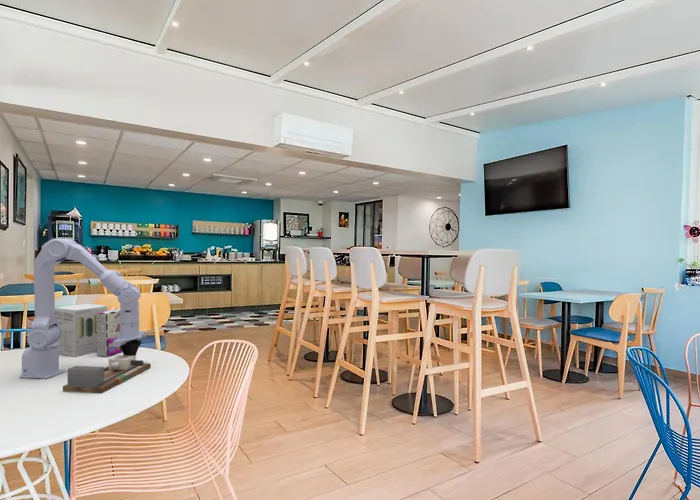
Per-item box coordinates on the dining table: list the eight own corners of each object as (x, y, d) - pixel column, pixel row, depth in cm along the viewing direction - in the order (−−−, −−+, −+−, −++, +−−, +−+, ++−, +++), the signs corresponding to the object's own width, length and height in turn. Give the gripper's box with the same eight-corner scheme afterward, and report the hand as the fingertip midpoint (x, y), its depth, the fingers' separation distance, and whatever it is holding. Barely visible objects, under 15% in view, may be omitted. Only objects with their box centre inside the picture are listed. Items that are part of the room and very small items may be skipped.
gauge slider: (104, 371, 135) (104, 361, 134) (118, 364, 141) (118, 355, 141) (134, 372, 133) (134, 362, 133) (147, 365, 140) (147, 356, 140)
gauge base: (62, 391, 122) (62, 383, 122) (117, 366, 145) (117, 360, 145) (102, 393, 120) (102, 385, 120) (151, 367, 144) (151, 361, 144)
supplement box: (74, 357, 156) (73, 310, 156) (52, 353, 162) (52, 307, 162) (108, 349, 168) (107, 305, 168) (87, 345, 174) (86, 302, 174)
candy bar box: (117, 349, 169) (117, 307, 168) (129, 349, 168) (128, 308, 167) (95, 356, 158) (95, 312, 157) (107, 357, 157) (107, 313, 156)
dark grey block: (67, 386, 121) (67, 368, 121) (75, 382, 124) (75, 365, 124) (96, 387, 120) (96, 370, 120) (104, 384, 123) (104, 367, 123)
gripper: (127, 327, 135) (127, 370, 135) (153, 319, 149) (153, 357, 149) (106, 326, 135) (106, 369, 136) (134, 318, 150) (134, 356, 150)
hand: (130, 363), depth 143 cm, fingers closed
